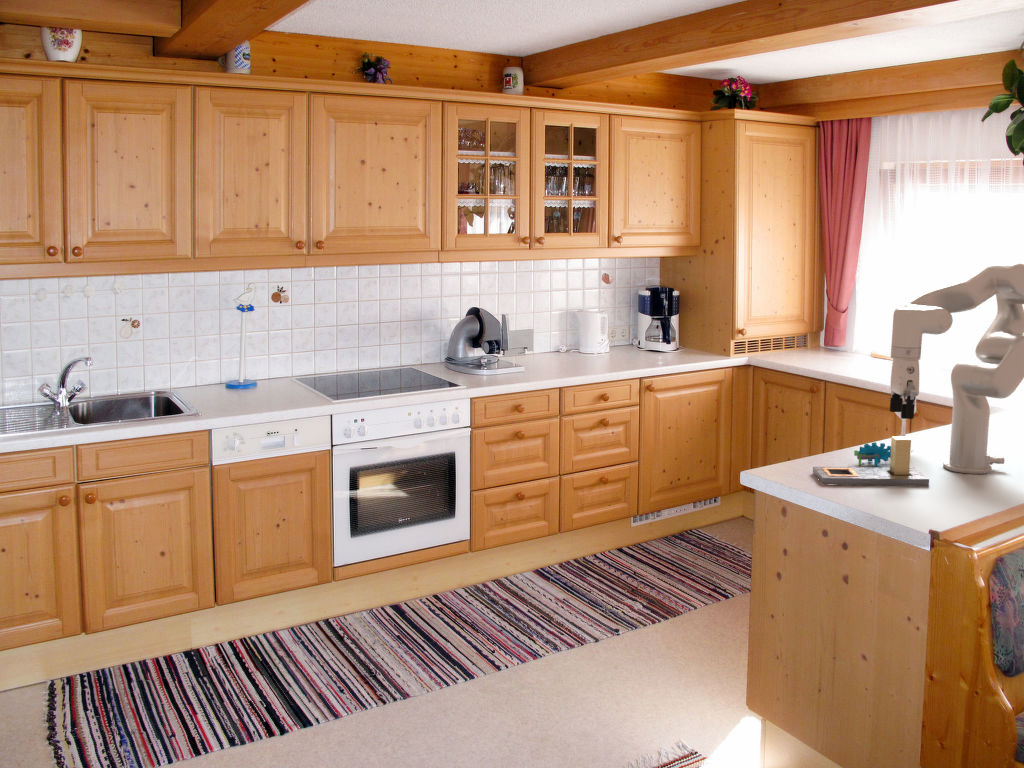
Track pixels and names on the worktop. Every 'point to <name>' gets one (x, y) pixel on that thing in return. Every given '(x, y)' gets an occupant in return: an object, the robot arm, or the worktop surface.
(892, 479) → the rail plate
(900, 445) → the peg
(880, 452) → the gear
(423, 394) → the worktop surface
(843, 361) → the worktop surface
